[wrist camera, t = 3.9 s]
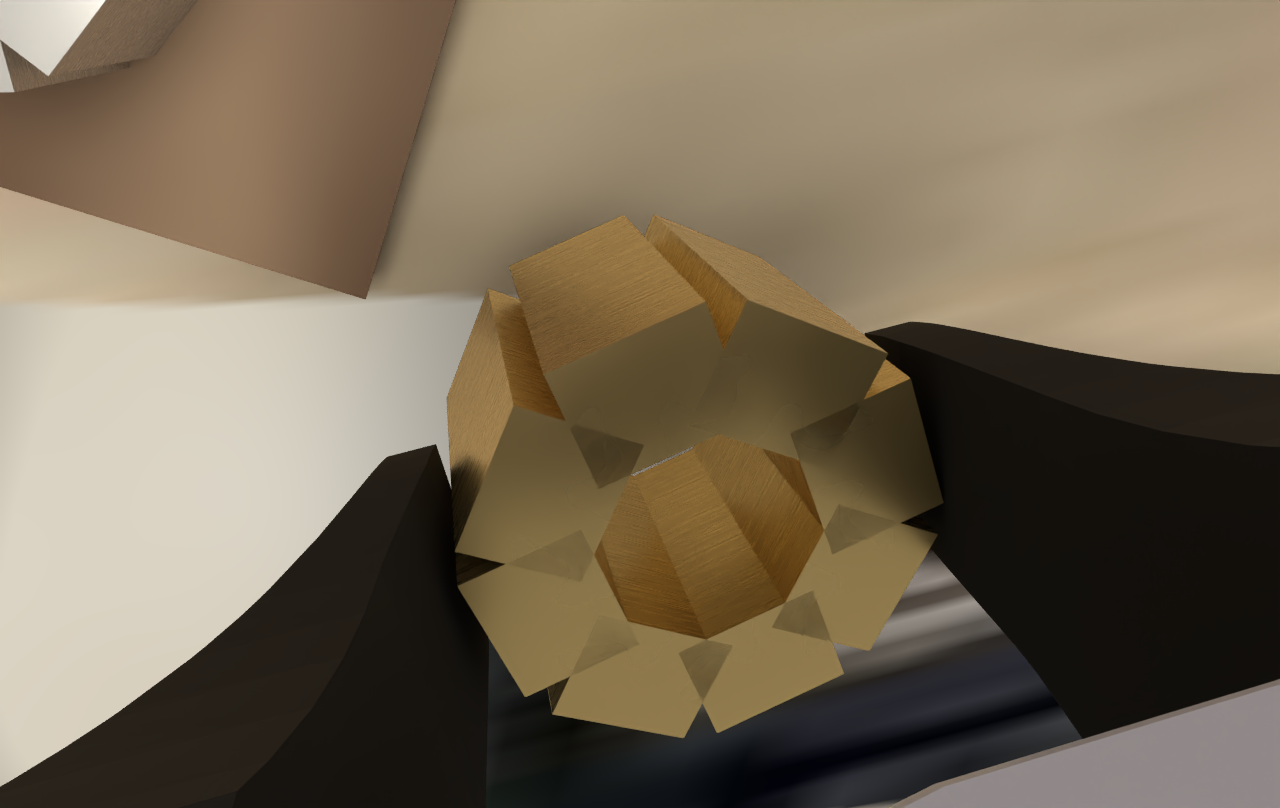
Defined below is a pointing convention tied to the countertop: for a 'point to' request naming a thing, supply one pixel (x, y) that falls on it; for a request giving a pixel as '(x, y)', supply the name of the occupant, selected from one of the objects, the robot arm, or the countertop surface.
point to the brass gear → (678, 480)
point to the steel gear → (80, 37)
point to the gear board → (244, 132)
